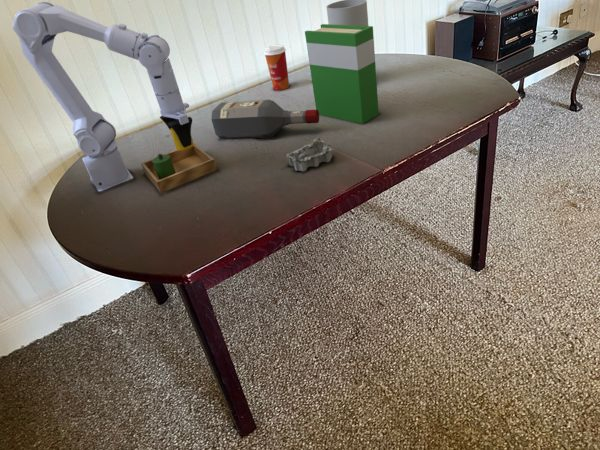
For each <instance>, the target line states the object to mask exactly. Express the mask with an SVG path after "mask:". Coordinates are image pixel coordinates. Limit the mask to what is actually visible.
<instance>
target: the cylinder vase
mask: <svg viewBox="0 0 600 450" xmlns="http://www.w3.org/2000/svg"><path fill="white" fill-rule="evenodd" d="M367 1H368V0H339V1H335V2H332V3H329V4H327V5H326V16H327V24H332V25H355V26H369V14H368V13H369V12H368V2H367Z"/></svg>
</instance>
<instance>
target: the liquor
mask: <svg viewBox="0 0 600 450" xmlns="http://www.w3.org/2000/svg"><path fill="white" fill-rule="evenodd" d="M210 119H211V123H212V126H213V130H214V133H215V136H217V137H218V138H219V139H237V138H238V139H239V138H240V139H241V138H253V139H263V138H265V139H266V138H272V137H275V135H276V134H278V133H279V131H281V130H282V129H283V128H284V126H287V125H295V124H296V125H297V124H318V123H319V122H320V115H319V111H318V110H316V109H306V110H284V108H282V107H281V106H280V105H279V104H278V103H276V102H275V101H274V100H272V99H259V100H244V101H243V100H241V101H239V100H238V101H225V102H223V101H222V102H220V103H219V104H218V105H217V106H215V108H213V109H212V111H211V118H210Z"/></svg>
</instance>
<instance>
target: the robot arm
mask: <svg viewBox="0 0 600 450" xmlns="http://www.w3.org/2000/svg"><path fill="white" fill-rule="evenodd" d="M12 29H13V31H14V32H15V34H16V35H17V36H18V39H19V43H20V48H21V51H22V53H23V56H24V57H25V58H26V60H27V61H28V62H29V64H30V65H31V67H32V68H33V69H34V71H35V72H36V73H37V75H38V76H39V78H40V79H41V81H42V82H43V83H44V84H45V86H46V87H47V88H48V90H49V91H50V92H51V94H52V95H53V97H54V98H55V100H56V101H57V102H58V103H59V105H60V107H61V108H62V109H63V111H64V112H65V113H66V115H67V116H68V117H69V119H70V120H71V121H72V134H73V136H74V137H75V139H76V141H77V145H78V148H79V150H80V151H81V152H82V153H83V154H85V155H86V156H84V157H82V158H81V160H82V163H83V165H84V166H85V168H86V170H87V173H88V175H89V177H90V178H89V180H90V182H91V184H92V185H94V187H95V188H96V190H97V192H102V191H104V190H108V189H110V188H113V187H115V186H118V185H120V184H122V183H125V182H128V181H130V180H133V179H134V176H133V174H131V172H130V171H129V170H128V168H127V166H126V164H125V161H124V159H123V157H122V154H121V153H120V150H119V147H118V145H117V142H116V137H117V131H116V127H115V126H114V125H113V124H112V123H111V122H109V121H108V120H107V119H105V117H104V115H103V114H101V113H100V112H98V111H94V110H93V109H92V108H91V106H90V104H88V102H87V100H86V99H85V98H84V96H83V95H82V93H81V92H80V89H78V87H77V86H76V84H75V83H74V82H73V80H72V78H71V77H70V76H69V74H68V73H67V72H66V70H65V69H64V67H63V66H62V65H61V63H60V61H59V60H58V59H57V57H56V55H55V54H54V53H53V47H54V42H55V38H56V37H57V36H58V34H62V33H66V32H68V33H72V34H75V35H79V36H82V37H86V38H88V39H92V40H95V41H99V42H101V43H104V44H105V46H106V47H107V49H108V50H109V51H111V52H114V53H117V54H120V55H122V56H126V57H128V58H131V59H134V60H137V61H138V62H139V63H140V65H142V67H144V68H145V69H146V73H147V74H148V78H149V81H150V83H151V87H152V89H153V92H154V96H155V98H156V102H157V104H158V108H159V110H160V115H161V116H159V119H160V120H161V121H163V123H164V124H165V125H166V127H167V128H168V130H169V131H170V129H171V128H172V129H173V130H174V132H175V133H176V135H177V136H178V138H179V141H180V143H181V144H182V146H183V147H184V148H185V147H187V146H190V145H191V144H192V143H191V137H192V124H193V118H192V117H191V116H188V114H187V109H188V108H190V104H189V103H188V102H184V100H183V97H182V95H181V91H180V88H179V84H178V81H177V78H176V75H175V72H174V69H173V66H172V64H171V60H170V58H169V56H170V53H171V48H170V45H169V43H168V42H167V41H166V39H164V38H163V37H161V36H159V35H158V34H153V35H150V36H149V35H148V33H146V32H142V33H141V32H137V31H135V30H132V29H130V28H127V24H124V23H119V24H112V25H111V26H109V27H108V26H106V25H104V24H102V23H98V22H96V21H95V20H92V19H89V18H87V17H85V16H82V15H80V14H77V13H76V12H73V11H71V10H68V9H67V8H65V7H64V6H62V5H59V4H54V3H51V2H49V1H41V2H38V3H37V4H35V5H33V6H30V7H28V8H23V9H20V10H18V11H17V12H16V13H15V15H14V19H13V24H12Z"/></svg>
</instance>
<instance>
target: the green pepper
mask: <svg viewBox="0 0 600 450" xmlns="http://www.w3.org/2000/svg"><path fill="white" fill-rule="evenodd" d="M152 159H153V160H152V162H153V165H154V167H155V170H156V173H157V175H158V178H159V180H161V179H163V178H166V177H168V176H171V175H173V174H176V172H175V169H174V166H173V163H172V160H171V157H170V156H169V155H164V154H162V153H158V154H157V156H155V157H154V158H152Z"/></svg>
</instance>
